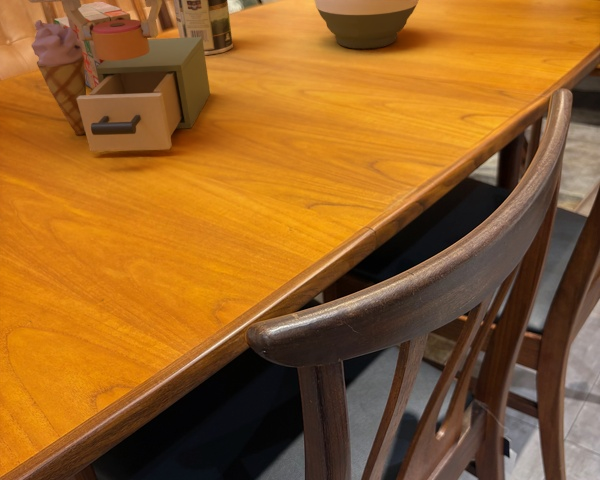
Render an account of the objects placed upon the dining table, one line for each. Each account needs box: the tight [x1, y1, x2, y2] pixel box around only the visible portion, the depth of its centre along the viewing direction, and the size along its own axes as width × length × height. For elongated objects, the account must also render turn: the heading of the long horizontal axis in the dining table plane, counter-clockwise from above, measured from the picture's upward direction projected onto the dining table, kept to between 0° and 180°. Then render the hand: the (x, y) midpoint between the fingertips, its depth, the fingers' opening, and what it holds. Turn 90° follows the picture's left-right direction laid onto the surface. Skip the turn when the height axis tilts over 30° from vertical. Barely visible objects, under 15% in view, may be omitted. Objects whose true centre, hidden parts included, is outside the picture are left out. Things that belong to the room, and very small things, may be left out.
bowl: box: [314, 0, 419, 50], centre depth 114 cm, size 20×20×10 cm
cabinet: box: [96, 37, 211, 130], centre depth 89 cm, size 15×12×9 cm
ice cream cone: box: [31, 19, 87, 136], centre depth 82 cm, size 7×6×15 cm
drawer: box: [77, 71, 183, 152], centre depth 80 cm, size 18×10×7 cm, turn 176°
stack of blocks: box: [53, 1, 131, 90], centre depth 101 cm, size 21×6×12 cm, turn 34°
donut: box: [91, 19, 150, 61], centre depth 75 cm, size 6×6×3 cm
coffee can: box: [173, 0, 234, 56], centre depth 116 cm, size 10×10×14 cm
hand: (120, 38), depth 75 cm, fingers closed on donut, 6 cm apart
